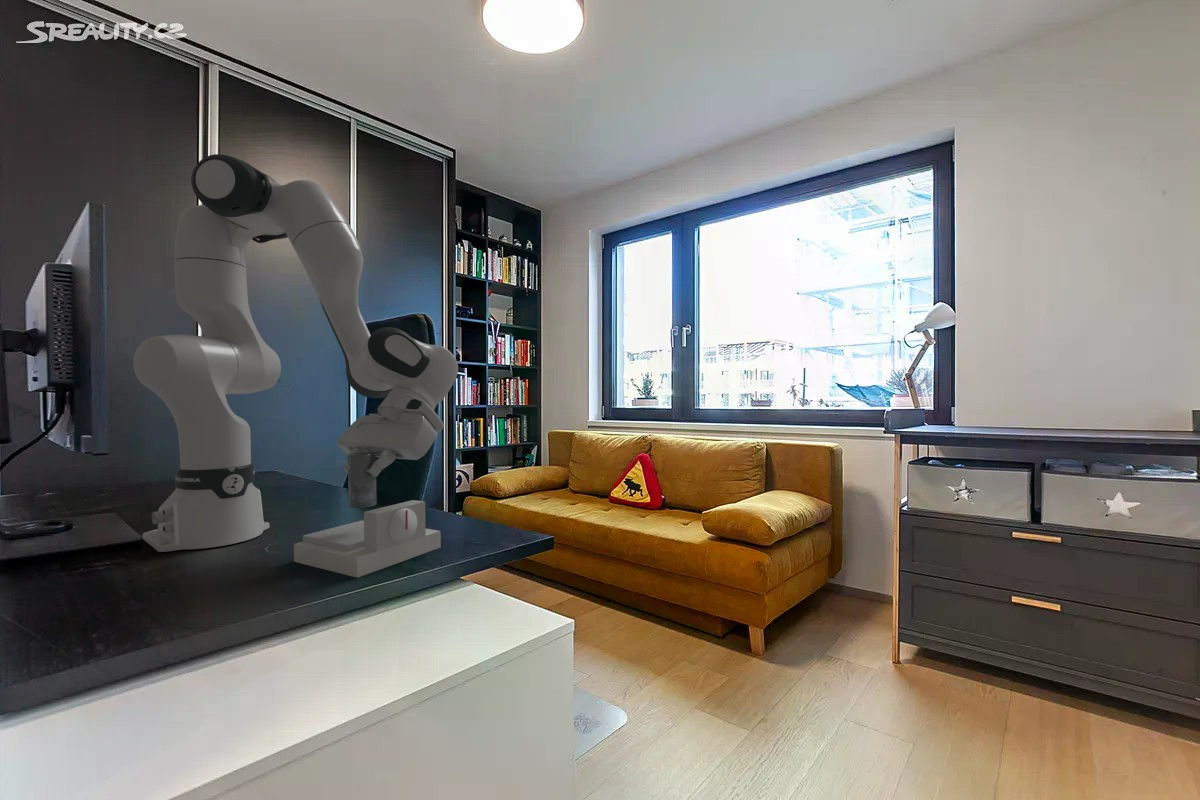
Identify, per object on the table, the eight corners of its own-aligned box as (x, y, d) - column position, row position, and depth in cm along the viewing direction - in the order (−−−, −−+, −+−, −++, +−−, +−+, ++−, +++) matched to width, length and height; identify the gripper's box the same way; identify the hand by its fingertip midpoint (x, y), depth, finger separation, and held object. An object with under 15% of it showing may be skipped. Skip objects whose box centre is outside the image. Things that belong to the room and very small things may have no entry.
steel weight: (343, 506, 90) (342, 454, 90) (365, 501, 94) (364, 452, 93) (360, 509, 88) (359, 456, 87) (382, 503, 91) (381, 453, 91)
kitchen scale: (294, 561, 86) (293, 507, 86) (380, 536, 101) (379, 490, 101) (359, 578, 78) (359, 519, 78) (442, 547, 93) (442, 498, 93)
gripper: (356, 402, 101) (309, 458, 93) (432, 403, 92) (387, 465, 83) (376, 424, 105) (333, 479, 97) (451, 426, 96) (410, 488, 87)
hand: (359, 473), depth 90 cm, fingers closed on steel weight, 4 cm apart
